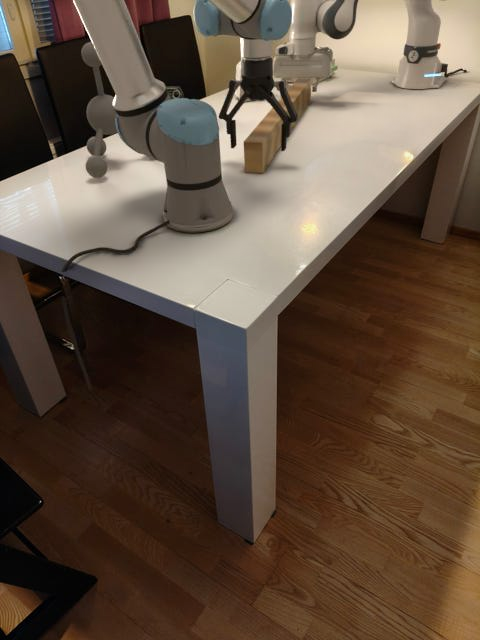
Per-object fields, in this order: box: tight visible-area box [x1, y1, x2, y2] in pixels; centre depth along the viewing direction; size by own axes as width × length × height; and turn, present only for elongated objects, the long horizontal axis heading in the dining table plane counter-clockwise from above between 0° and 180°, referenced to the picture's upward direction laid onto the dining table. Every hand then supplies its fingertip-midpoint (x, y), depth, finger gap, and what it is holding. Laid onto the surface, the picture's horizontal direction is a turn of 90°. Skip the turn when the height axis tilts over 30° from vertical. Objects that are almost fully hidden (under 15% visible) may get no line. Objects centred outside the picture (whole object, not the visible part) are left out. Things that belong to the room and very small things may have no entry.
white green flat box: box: [280, 58, 338, 85], centre depth 206 cm, size 26×6×20 cm
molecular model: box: [80, 41, 149, 179], centre depth 128 cm, size 24×22×30 cm
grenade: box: [166, 86, 185, 100], centre depth 166 cm, size 7×6×10 cm
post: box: [243, 78, 312, 174], centre depth 151 cm, size 71×5×8 cm, turn 164°
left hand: (258, 148), depth 128 cm, fingers open, 13 cm apart
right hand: (301, 91), depth 172 cm, fingers open, 8 cm apart
